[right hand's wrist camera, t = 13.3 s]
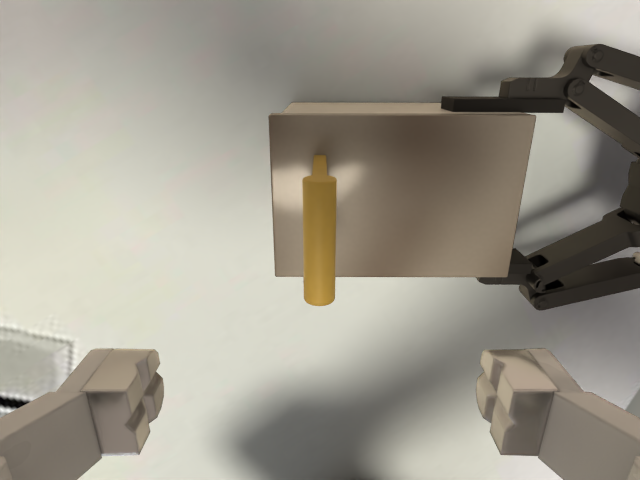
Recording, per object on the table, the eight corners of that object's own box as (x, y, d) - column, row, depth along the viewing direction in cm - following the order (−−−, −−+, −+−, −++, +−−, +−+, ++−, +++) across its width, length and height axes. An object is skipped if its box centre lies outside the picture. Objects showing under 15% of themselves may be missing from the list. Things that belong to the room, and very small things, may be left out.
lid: (276, 269, 28) (260, 343, 20) (270, 112, 24) (247, 131, 17) (500, 270, 28) (568, 344, 20) (527, 113, 24) (622, 132, 17)
